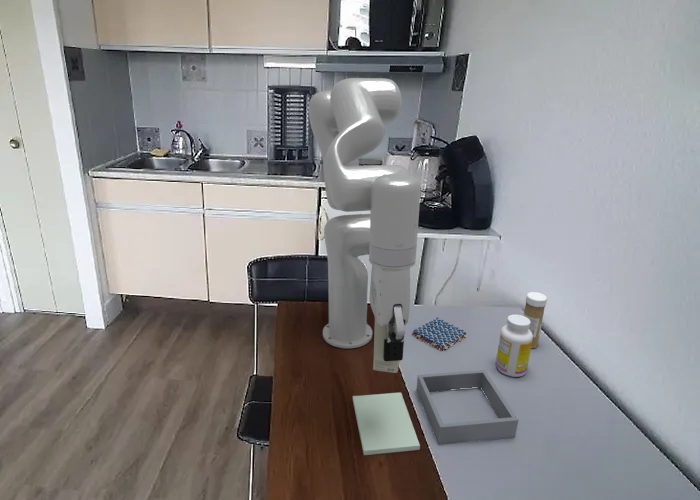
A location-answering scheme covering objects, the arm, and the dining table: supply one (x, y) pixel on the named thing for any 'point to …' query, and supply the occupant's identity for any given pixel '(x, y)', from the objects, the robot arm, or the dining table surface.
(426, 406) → the bin
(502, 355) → the supplement bottle
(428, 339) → the woven mat
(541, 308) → the sprinkles bottle
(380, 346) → the skincare box
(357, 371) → the dining table surface
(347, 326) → the robot arm
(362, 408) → the pad
